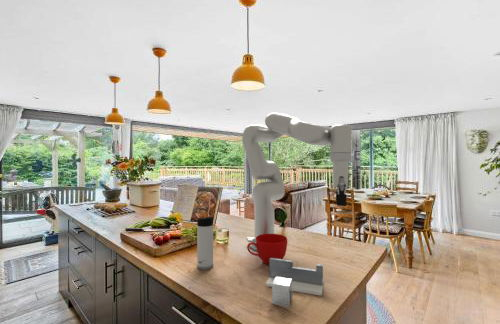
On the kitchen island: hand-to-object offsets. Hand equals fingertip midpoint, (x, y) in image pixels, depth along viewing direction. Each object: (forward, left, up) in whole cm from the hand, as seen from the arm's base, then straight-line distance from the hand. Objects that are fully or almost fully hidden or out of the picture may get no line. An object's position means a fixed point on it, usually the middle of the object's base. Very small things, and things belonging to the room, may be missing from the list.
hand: (340, 203), depth 95 cm
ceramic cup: (-29, 0, -26) cm, 39 cm away
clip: (-17, -26, -26) cm, 41 cm away
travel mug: (-51, -12, -26) cm, 58 cm away
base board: (-15, -14, -26) cm, 33 cm away
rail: (-15, -14, -26) cm, 33 cm away
